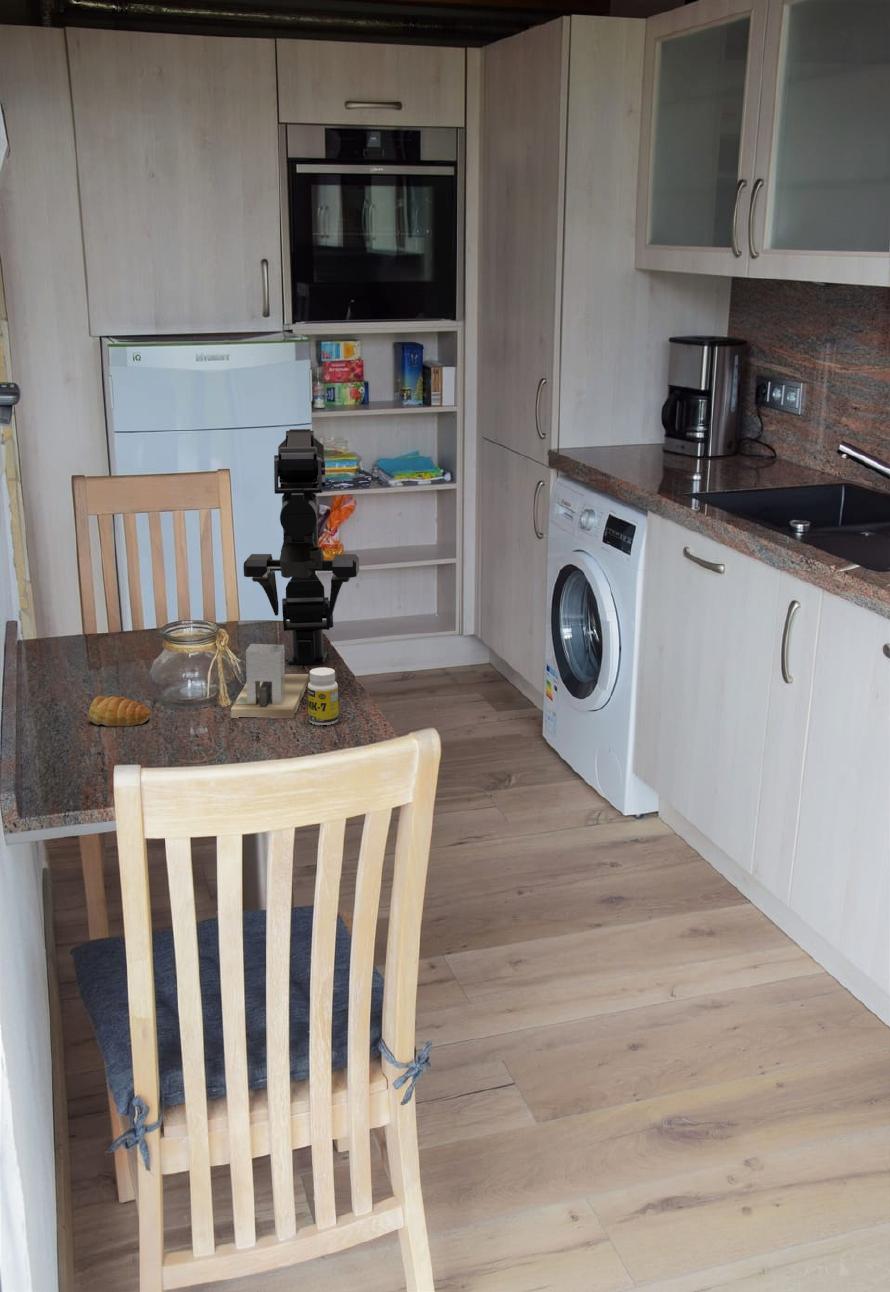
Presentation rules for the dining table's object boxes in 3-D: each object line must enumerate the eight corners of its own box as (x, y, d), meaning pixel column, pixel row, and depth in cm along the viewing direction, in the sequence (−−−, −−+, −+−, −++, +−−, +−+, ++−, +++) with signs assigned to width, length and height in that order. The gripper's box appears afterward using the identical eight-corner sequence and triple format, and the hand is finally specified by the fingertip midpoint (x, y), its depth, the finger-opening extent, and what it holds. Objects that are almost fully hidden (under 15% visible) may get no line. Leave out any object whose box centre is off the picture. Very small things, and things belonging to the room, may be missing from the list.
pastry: (158, 715, 192) (156, 693, 191) (140, 731, 186) (138, 708, 185) (103, 712, 194) (101, 690, 192) (84, 727, 187) (82, 704, 186)
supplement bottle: (302, 723, 188) (300, 672, 186) (319, 714, 192) (317, 664, 190) (328, 728, 186) (326, 677, 183) (344, 718, 190) (343, 669, 187)
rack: (252, 681, 208) (250, 657, 206) (309, 682, 207) (308, 657, 206) (231, 717, 190) (229, 691, 189) (293, 718, 190) (292, 691, 189)
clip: (251, 695, 196) (250, 643, 193) (285, 697, 195) (284, 644, 193) (247, 704, 192) (245, 651, 189) (281, 705, 192) (280, 652, 189)
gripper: (234, 533, 189) (239, 628, 193) (351, 534, 188) (354, 628, 193) (247, 520, 199) (252, 610, 204) (358, 520, 199) (360, 610, 203)
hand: (303, 615), depth 201 cm, fingers open, 9 cm apart
